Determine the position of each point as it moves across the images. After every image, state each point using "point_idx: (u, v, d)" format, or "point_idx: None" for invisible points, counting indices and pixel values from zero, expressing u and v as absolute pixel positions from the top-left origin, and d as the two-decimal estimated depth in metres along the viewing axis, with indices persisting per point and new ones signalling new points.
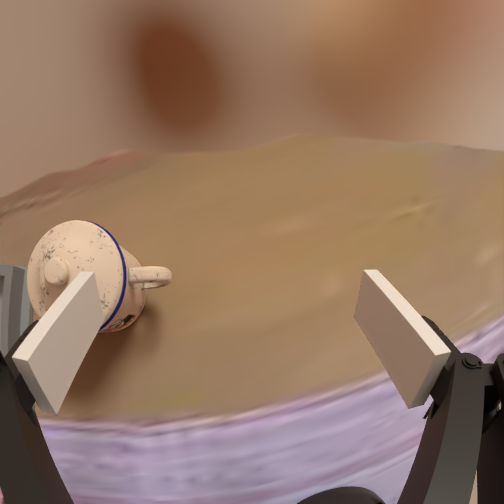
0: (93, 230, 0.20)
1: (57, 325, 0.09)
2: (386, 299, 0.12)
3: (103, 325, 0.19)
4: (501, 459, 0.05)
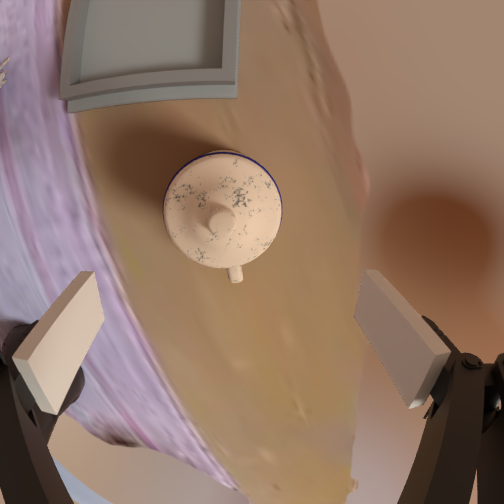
0: (269, 236, 0.23)
1: (57, 325, 0.09)
2: (386, 299, 0.12)
3: (181, 251, 0.23)
4: (501, 459, 0.05)
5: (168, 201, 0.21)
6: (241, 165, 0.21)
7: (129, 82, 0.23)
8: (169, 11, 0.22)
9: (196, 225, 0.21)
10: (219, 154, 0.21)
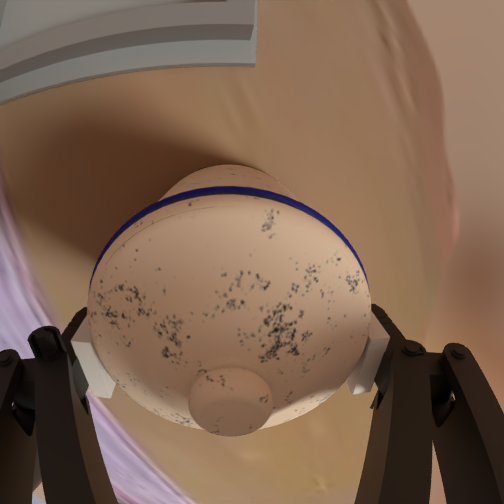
0: (337, 385, 0.09)
1: None
2: None
3: None
4: (463, 454, 0.05)
5: (93, 318, 0.08)
6: (286, 233, 0.07)
7: (49, 43, 0.09)
8: None
9: (162, 391, 0.07)
10: (219, 196, 0.07)
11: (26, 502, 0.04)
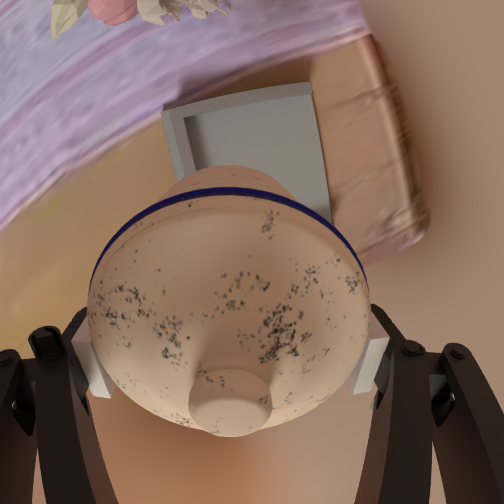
0: (336, 386, 0.09)
1: None
2: None
3: None
4: (463, 454, 0.05)
5: (93, 319, 0.08)
6: (286, 234, 0.07)
7: None
8: None
9: (162, 391, 0.07)
10: (219, 197, 0.07)
11: (26, 502, 0.04)
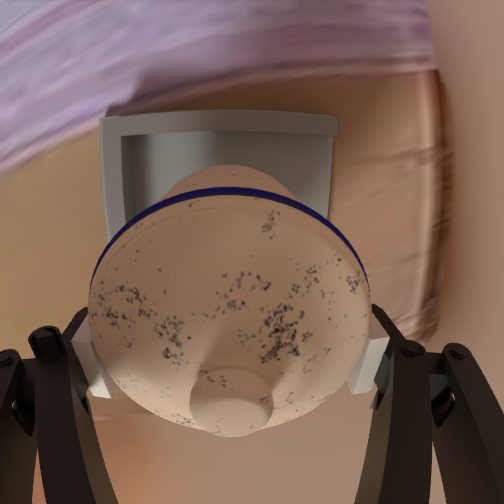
0: (337, 385, 0.09)
1: None
2: None
3: None
4: (463, 454, 0.05)
5: (94, 319, 0.08)
6: (286, 234, 0.07)
7: None
8: None
9: (163, 391, 0.07)
10: (219, 197, 0.07)
11: (26, 502, 0.04)
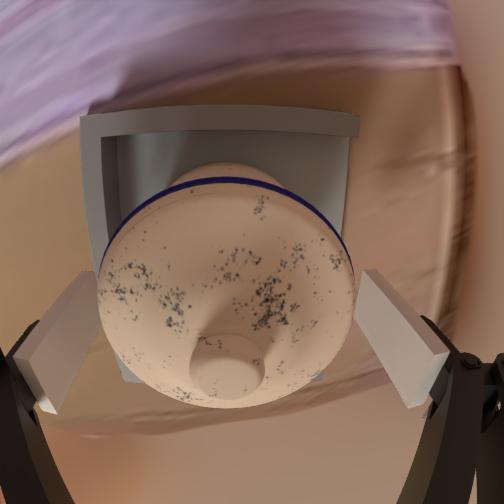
0: (326, 361, 0.10)
1: (58, 325, 0.09)
2: (385, 299, 0.12)
3: None
4: (500, 459, 0.05)
5: (103, 296, 0.09)
6: (275, 216, 0.08)
7: (99, 258, 0.15)
8: None
9: (165, 360, 0.08)
10: (217, 184, 0.08)
11: None
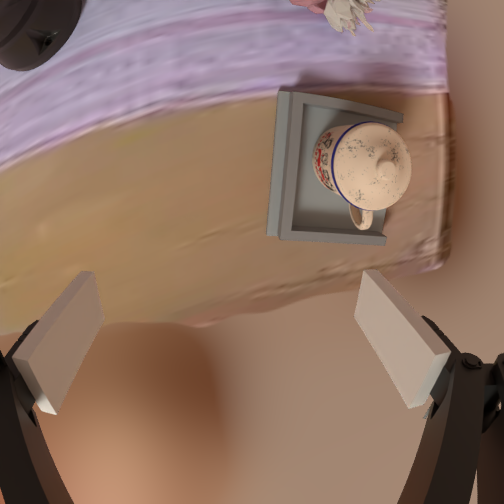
0: (404, 188, 0.28)
1: (57, 325, 0.09)
2: (386, 299, 0.12)
3: (341, 193, 0.28)
4: (501, 459, 0.05)
5: (341, 150, 0.26)
6: (392, 133, 0.25)
7: (291, 158, 0.33)
8: None
9: (365, 170, 0.26)
10: (378, 123, 0.25)
11: None
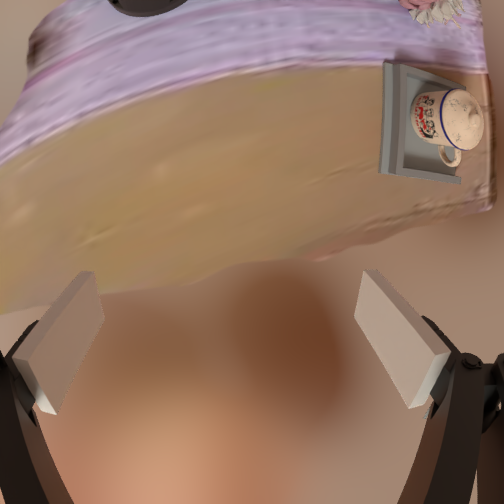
0: (481, 136, 0.31)
1: (57, 325, 0.09)
2: (386, 299, 0.12)
3: (446, 135, 0.32)
4: (501, 459, 0.05)
5: (446, 105, 0.30)
6: (472, 97, 0.29)
7: (402, 111, 0.37)
8: None
9: (462, 119, 0.30)
10: (463, 90, 0.29)
11: None
